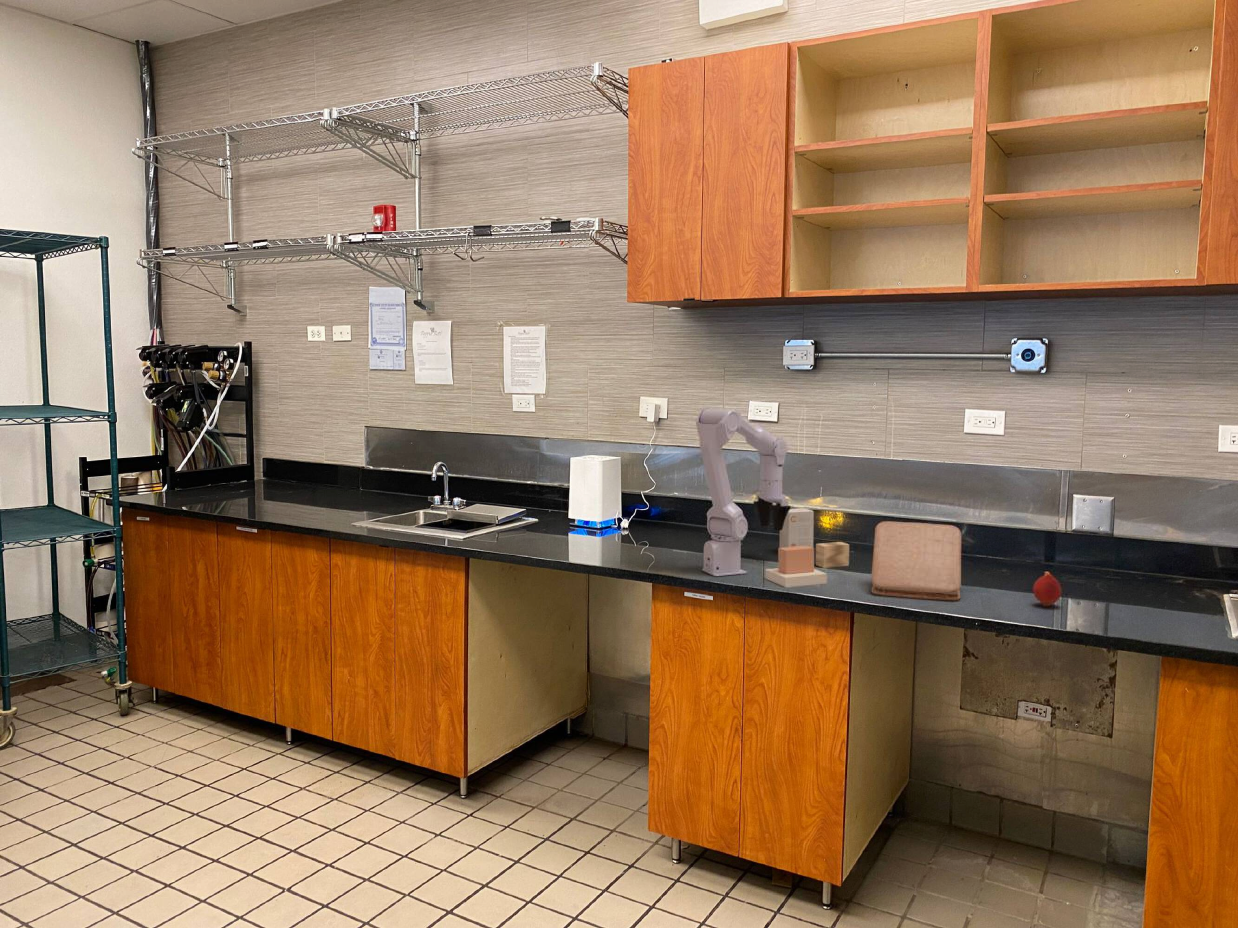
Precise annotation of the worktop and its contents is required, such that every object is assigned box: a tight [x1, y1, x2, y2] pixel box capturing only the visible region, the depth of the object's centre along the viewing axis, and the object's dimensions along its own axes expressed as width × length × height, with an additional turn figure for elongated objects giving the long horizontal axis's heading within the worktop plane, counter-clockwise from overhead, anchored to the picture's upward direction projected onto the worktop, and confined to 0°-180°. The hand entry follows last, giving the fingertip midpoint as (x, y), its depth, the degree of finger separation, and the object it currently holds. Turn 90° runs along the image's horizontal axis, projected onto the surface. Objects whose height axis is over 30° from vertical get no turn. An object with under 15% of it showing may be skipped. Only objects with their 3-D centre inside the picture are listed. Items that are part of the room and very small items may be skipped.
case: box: [870, 520, 962, 602], centre depth 219 cm, size 20×21×16 cm
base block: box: [765, 567, 828, 588], centre depth 229 cm, size 12×10×3 cm
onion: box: [1032, 571, 1062, 607], centre depth 203 cm, size 6×6×8 cm
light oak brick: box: [815, 541, 850, 569], centre depth 246 cm, size 8×4×6 cm, turn 110°
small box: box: [779, 507, 815, 548], centre depth 261 cm, size 8×6×13 cm
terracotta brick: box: [777, 546, 815, 574], centre depth 228 cm, size 8×4×6 cm, turn 109°
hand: (771, 527), depth 251 cm, fingers open, 7 cm apart
